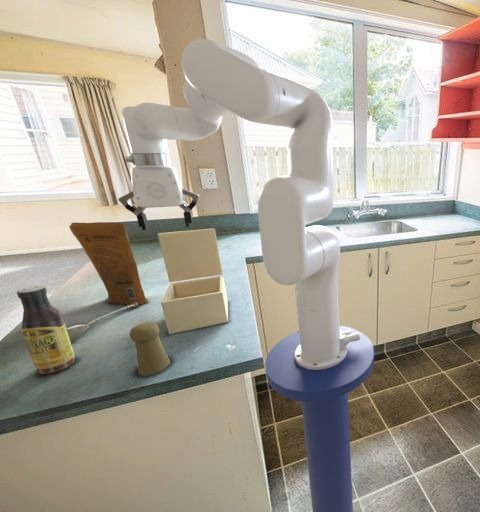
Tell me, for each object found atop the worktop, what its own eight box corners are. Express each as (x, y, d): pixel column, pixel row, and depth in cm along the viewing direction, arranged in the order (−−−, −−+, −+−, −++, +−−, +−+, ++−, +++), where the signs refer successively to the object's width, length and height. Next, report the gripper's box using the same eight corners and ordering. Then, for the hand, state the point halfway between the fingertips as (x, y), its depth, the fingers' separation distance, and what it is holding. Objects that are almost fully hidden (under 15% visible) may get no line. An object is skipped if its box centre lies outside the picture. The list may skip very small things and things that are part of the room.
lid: (214, 228, 92) (215, 225, 96) (157, 233, 86) (160, 230, 90) (222, 274, 97) (223, 269, 101) (169, 282, 91) (172, 276, 95)
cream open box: (227, 322, 88) (222, 292, 85) (168, 334, 82) (160, 302, 79) (227, 302, 100) (223, 275, 97) (176, 311, 94) (169, 283, 91)
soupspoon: (46, 346, 77) (66, 350, 76) (41, 336, 76) (62, 339, 75) (128, 305, 98) (145, 308, 97) (126, 296, 96) (143, 298, 95)
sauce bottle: (29, 378, 65) (-7, 296, 59) (52, 360, 71) (21, 284, 65) (66, 373, 67) (34, 293, 61) (85, 356, 73) (57, 281, 66)
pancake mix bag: (137, 309, 95) (113, 224, 87) (92, 303, 99) (64, 221, 91) (157, 300, 102) (136, 220, 93) (113, 295, 105) (89, 217, 97)
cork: (143, 379, 65) (130, 336, 62) (134, 368, 68) (121, 326, 65) (174, 364, 70) (163, 324, 66) (165, 355, 73) (154, 315, 70)
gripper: (102, 161, 68) (122, 233, 73) (190, 161, 75) (203, 227, 80) (114, 161, 74) (132, 227, 80) (194, 161, 81) (205, 222, 87)
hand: (167, 227), depth 80 cm, fingers open, 9 cm apart
